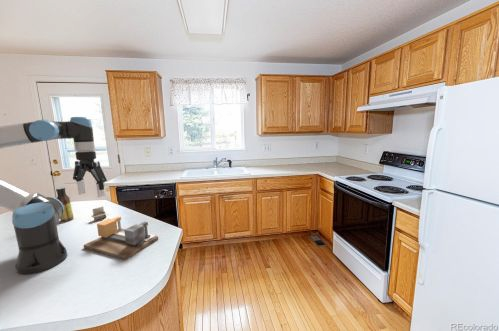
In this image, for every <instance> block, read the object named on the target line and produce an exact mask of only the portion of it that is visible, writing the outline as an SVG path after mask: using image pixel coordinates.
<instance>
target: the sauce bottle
mask: <svg viewBox="0 0 499 331" xmlns="http://www.w3.org/2000/svg"><path fill="white" fill-rule="evenodd" d="M55 191H56V195H57V197H56V199H58V200H59V201H60V202H61V203H62V204H63V207H64V211H63V215H62V217H61V218H60V219H59V221H61V222H62V223H63V222H70V221H72V220H74V212H73V206H72V202H71V200H70V196H68V195H67V193H66V187H64V186H63V187H58V188H56V189H55Z"/></svg>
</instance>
